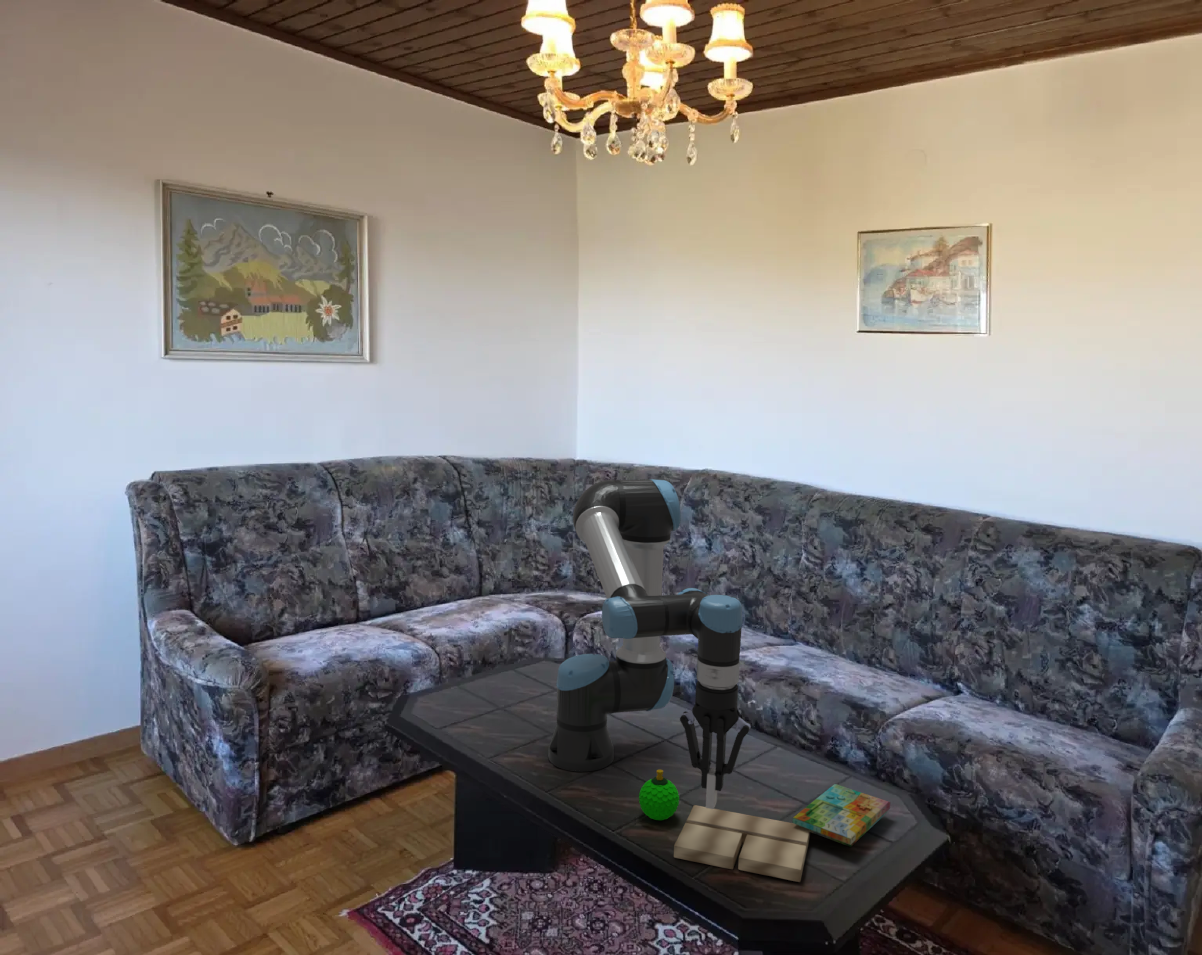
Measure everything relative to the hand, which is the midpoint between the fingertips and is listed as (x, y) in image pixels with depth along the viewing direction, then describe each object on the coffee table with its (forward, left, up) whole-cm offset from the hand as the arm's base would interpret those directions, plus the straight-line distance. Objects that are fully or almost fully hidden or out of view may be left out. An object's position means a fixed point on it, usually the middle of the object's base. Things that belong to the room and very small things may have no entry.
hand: (711, 804), depth 162 cm
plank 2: (+11, +3, -10) cm, 16 cm away
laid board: (+5, +11, -11) cm, 16 cm away
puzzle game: (+22, +20, -11) cm, 32 cm away
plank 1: (-1, +3, -11) cm, 11 cm away
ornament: (-13, +11, -11) cm, 20 cm away
